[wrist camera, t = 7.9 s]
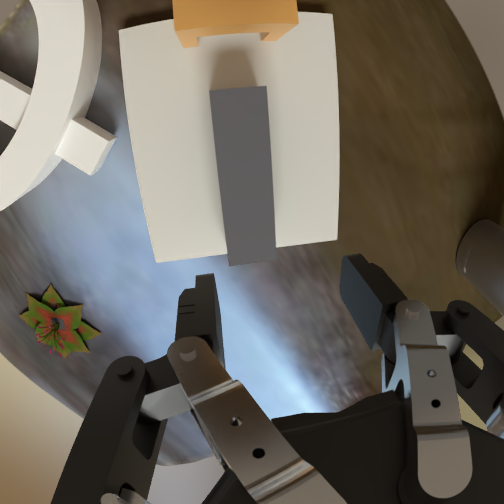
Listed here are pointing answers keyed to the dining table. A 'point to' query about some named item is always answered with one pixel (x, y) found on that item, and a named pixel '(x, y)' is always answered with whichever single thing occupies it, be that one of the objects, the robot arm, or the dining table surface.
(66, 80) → the ring with crossbar
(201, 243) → the mat
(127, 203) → the dining table surface
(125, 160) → the dining table surface
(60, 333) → the lily flower
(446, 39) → the dining table surface
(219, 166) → the long grey rectangular bar
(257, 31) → the orange arch block
